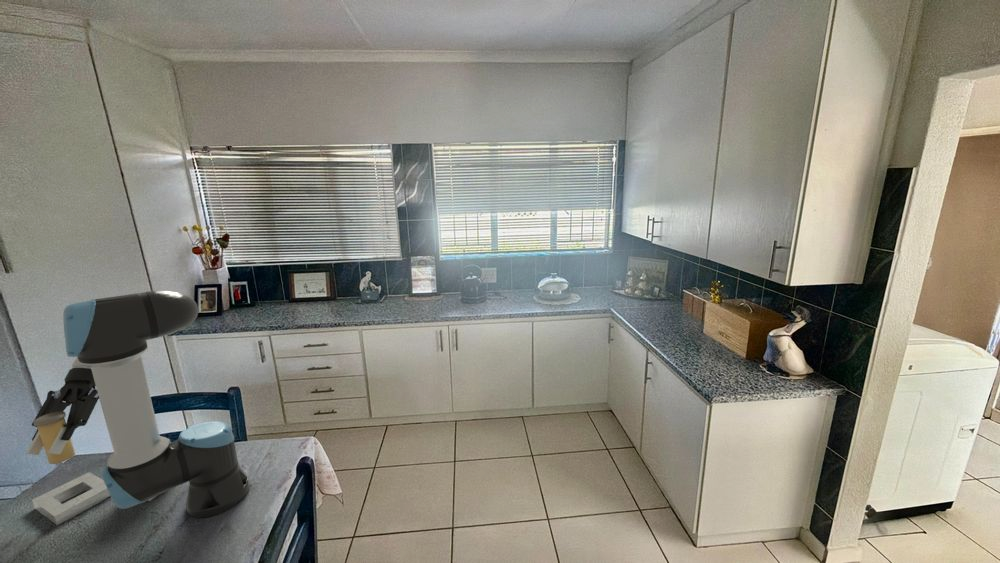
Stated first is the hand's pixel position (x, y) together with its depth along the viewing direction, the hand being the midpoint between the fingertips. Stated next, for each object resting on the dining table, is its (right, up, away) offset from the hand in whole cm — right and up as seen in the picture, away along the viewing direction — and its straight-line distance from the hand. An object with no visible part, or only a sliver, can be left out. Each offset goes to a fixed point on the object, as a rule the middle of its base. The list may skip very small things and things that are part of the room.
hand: (43, 453), depth 104 cm
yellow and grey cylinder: (0, -3, +5) cm, 6 cm away
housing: (0, -18, +8) cm, 19 cm away
